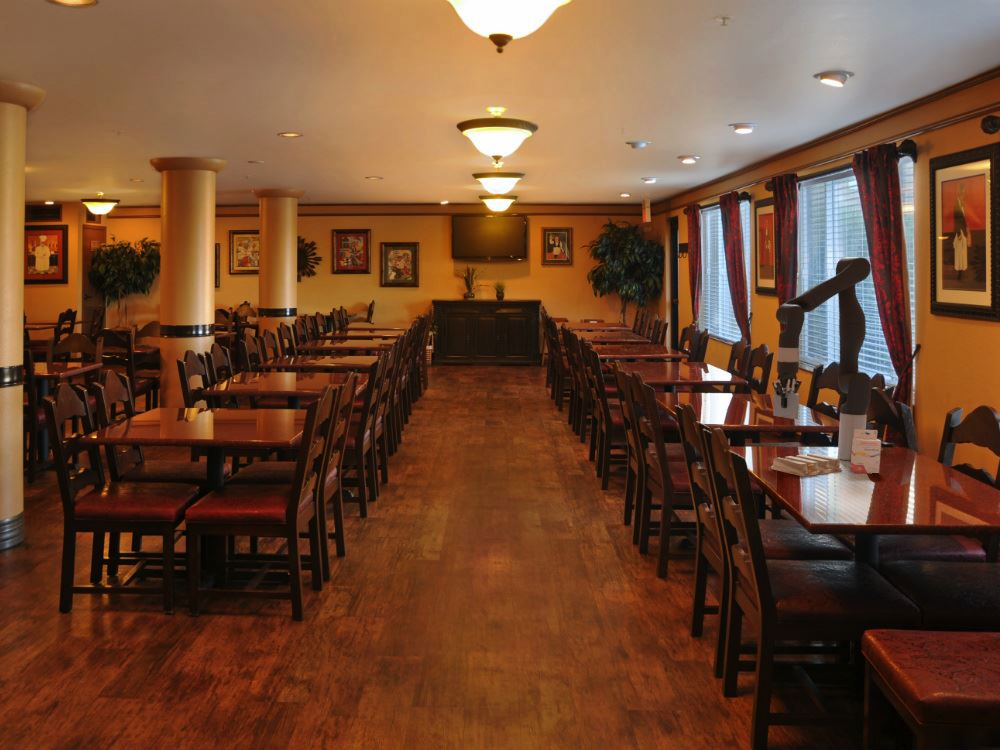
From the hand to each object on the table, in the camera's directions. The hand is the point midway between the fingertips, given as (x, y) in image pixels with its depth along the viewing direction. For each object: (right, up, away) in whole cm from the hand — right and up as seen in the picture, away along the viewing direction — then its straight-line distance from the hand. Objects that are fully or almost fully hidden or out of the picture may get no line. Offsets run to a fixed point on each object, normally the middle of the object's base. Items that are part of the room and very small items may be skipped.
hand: (785, 407), depth 334 cm
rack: (+4, -22, -10) cm, 24 cm away
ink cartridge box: (+24, -22, -12) cm, 35 cm away
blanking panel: (0, -4, 0) cm, 4 cm away
